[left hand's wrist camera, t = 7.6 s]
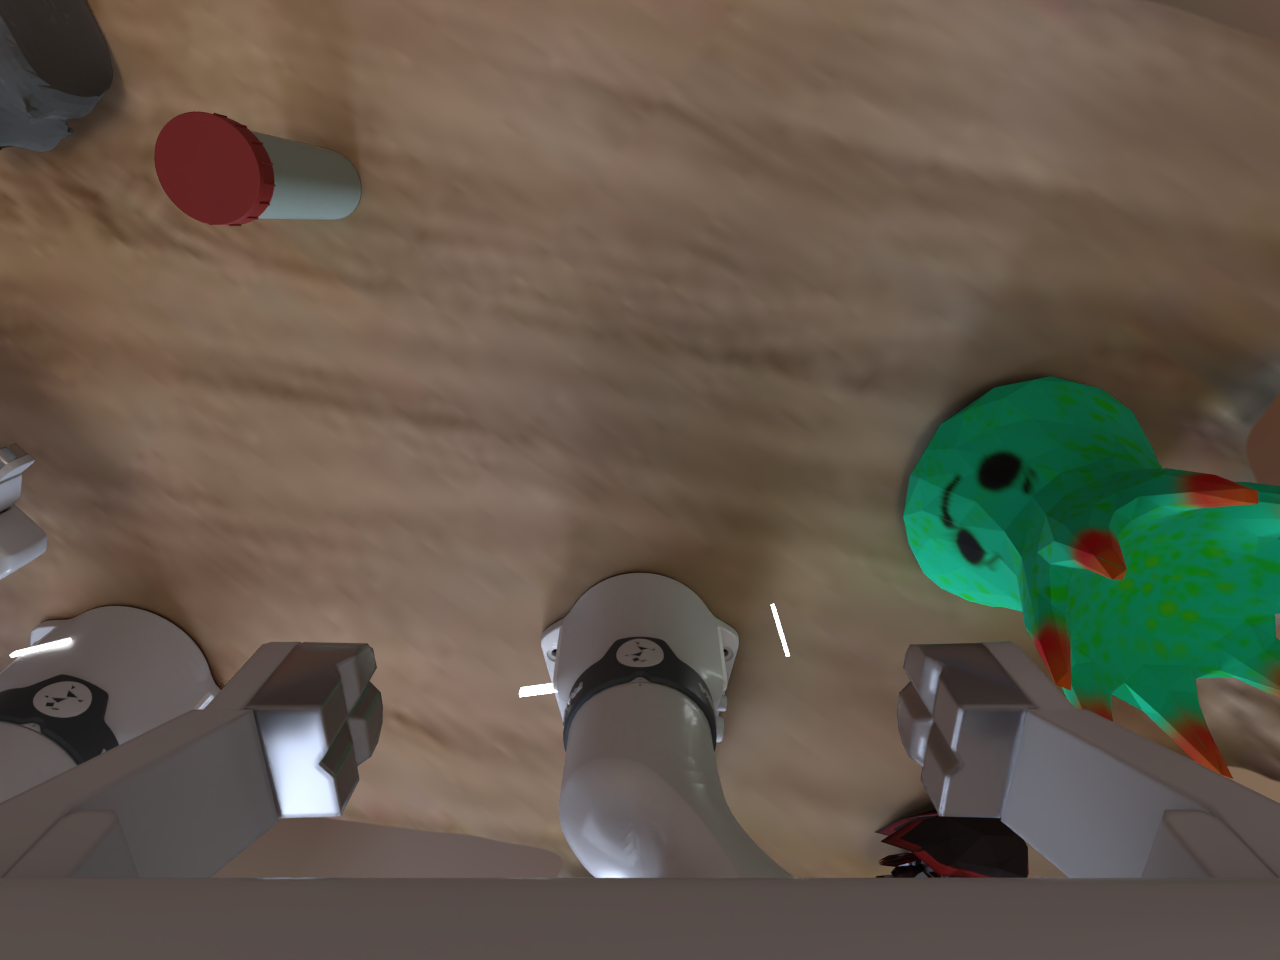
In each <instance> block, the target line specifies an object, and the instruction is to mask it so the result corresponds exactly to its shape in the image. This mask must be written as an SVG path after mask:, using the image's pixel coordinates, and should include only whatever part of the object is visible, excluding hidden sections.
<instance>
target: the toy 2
mask: <svg viewBox="0 0 1280 960" xmlns="http://www.w3.org/2000/svg"><path fill="white" fill-rule="evenodd" d="M903 518H904V523H905V528H906V533H907V538H908V543H909V545H910V547H911V549H912V551H913V553H914V555H915V557H916V559H917V561H918V563H919V565H920V567H921V569H922V571H923V573H924V574H925V575H926V576H927V577H929V578H930V579H931V580H932V581H933V582H935V583H936V584H937V585H938V586H939V587H941V588H942V589H944V590H946V591H948V592H951V593H953V594H955V595H957V596H960V597H962V598H964V599H966V600H968V601H971V602H975V603H979V604H984V605H988V606H992V607H1006V608H1010V609H1014V610H1018V611H1022V612H1023V617H1024V623H1025V627H1026V629H1027V631H1028V633H1029V635H1030V637H1031V638H1032V640H1033V642H1034V644H1035V646H1036V648H1037V650H1038V652H1039V654H1040V655H1041V657H1042V659H1043V661H1044V663H1045V665H1046V667H1047V669H1048V670H1049V672H1050V674H1051V676H1052V678H1053V680H1054V682H1055V684H1056V685H1058V686H1061V687H1062V688H1063V691H1064V693H1065V695H1066V698H1067V699H1068V701H1069V702H1070V703H1071V704H1072V705H1073V706H1074V707H1075V708H1076V709H1088V710H1090V711H1092V712H1094V713H1096V714H1098V715H1100V716H1102V717H1104V718H1106V719H1108V720H1110V721H1112V722H1113V719H1112V714H1111V694H1112V695H1114V696H1116V697H1118V698H1120V699H1122V700H1124V701H1125V702H1127V703H1129V704H1131V705H1133V706H1135V707H1137V708H1139V709H1141V710H1142V711H1144V712H1145V713H1146V714H1147V715H1148V716H1149V717H1150V718H1151V719H1152V720H1153V721H1154V722H1155V723H1156V724H1157V725H1158V726H1159V727H1160V728H1161V729H1162V730H1163V731H1165V732H1166V733H1167V734H1168V735H1169V736H1170V737H1171V738H1172V739H1173V740H1174V741H1175V742H1176V743H1177V744H1178V745H1179V746H1180V747H1181V748H1182V749H1183V750H1184V751H1185V752H1186V753H1187V754H1188V755H1189V756H1190V757H1192V758H1193V759H1194V760H1195V761H1196V762H1197V763H1198V764H1200V765H1202V766H1204V767H1206V768H1208V769H1210V770H1212V771H1214V772H1216V773H1218V774H1220V775H1222V776H1225V777H1228V778H1232V776H1231V774H1230V772H1229V770H1228V768H1227V766H1226V764H1225V762H1224V760H1223V758H1222V756H1221V754H1220V752H1219V750H1218V748H1217V746H1216V744H1215V742H1214V740H1213V738H1212V736H1211V734H1210V732H1209V730H1208V727H1207V724H1206V722H1205V719H1204V716H1203V714H1202V711H1201V708H1200V706H1199V700H1198V693H1197V686H1196V680H1195V679H1196V678H1220V677H1235V678H1237V679H1239V680H1241V681H1243V682H1246V683H1248V684H1250V685H1252V686H1254V687H1256V688H1259V689H1261V690H1263V691H1265V692H1267V693H1269V694H1272V695H1274V696H1276V697H1278V698H1280V641H1279V640H1278V639H1277V638H1276V629H1275V614H1277V613H1280V486H1273V485H1265V484H1257V483H1249V482H1232V481H1230V480H1227V479H1224V478H1222V477H1219V476H1216V475H1212V474H1204V473H1197V472H1189V471H1182V470H1174V469H1163V468H1162V467H1161V465H1160V464H1159V463H1158V461H1157V459H1156V457H1155V454H1154V450H1153V448H1152V446H1151V444H1150V442H1149V441H1148V439H1147V437H1146V435H1145V433H1144V432H1143V430H1142V428H1141V426H1140V424H1139V422H1138V421H1137V419H1136V417H1135V415H1134V413H1133V412H1132V411H1131V410H1130V409H1128V408H1127V407H1126V406H1124V405H1123V404H1122V403H1120V402H1119V401H1118V400H1116V399H1115V398H1114V397H1112V396H1111V395H1110V394H1108V393H1107V392H1106V391H1104V390H1103V389H1100V388H1096V387H1092V386H1089V385H1085V384H1081V383H1077V382H1073V381H1069V380H1065V379H1061V378H1057V377H1053V376H1048V377H1043V378H1038V379H1033V380H1028V381H1024V382H1019V383H1014V384H1009V385H1004V386H999V387H994V388H993V389H991V390H990V391H989V392H987V393H986V394H984V395H983V396H981V397H980V398H978V399H977V400H975V401H974V402H972V403H971V404H969V405H968V406H967V407H965V408H964V409H962V410H961V411H959V412H958V413H956V414H955V415H953V416H952V417H950V418H949V419H948V420H946V421H945V422H943V423H942V424H941V425H940V426H939V428H938V430H937V431H936V433H935V435H934V436H933V438H932V440H931V441H930V443H929V445H928V446H927V448H926V450H925V451H924V453H923V455H922V457H921V458H920V460H919V462H918V463H917V465H916V467H915V468H914V470H913V472H912V473H911V475H910V479H909V485H908V491H907V497H906V503H905V509H904V515H903Z"/></svg>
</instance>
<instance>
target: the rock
mask: <svg viewBox="0 0 1280 960" xmlns="http://www.w3.org/2000/svg"><path fill="white" fill-rule="evenodd" d="M112 76H113V71H112V64H111V58H110V54H109V51H108V48H107V45H106V42H105V40H104V38H103V35H102V33H101V31H100V29H99V27H98V25H97V23H96V21H95V19H94V17H93V15H92V13H91V11H90V9H89V7H88V6H87V4H86V2H85V0H0V150H1V149H2V148H5V147H10V146H13V147H20V148H25V149H30V150H34V151H38V152H46V151H49V150H52V149H54V148H55V147H56V146H57V145H58V144H59V142H60V141H61V140H62V139H64V138H65V137H67V136H70V135H71V134H73V129H71V128H70V127H69V126H68V125H67V123H66V120H67V119H72V118H82V117H84V116H85V115H87V114H89V113H90V112H91V111H92V110H93V108H94V107H95V105H96V103H97V102H98V101H99V100H100V99H101V98H102V97H103V95H104V94H105V92H106V91H107V90H108V89H109V87H110V85H111V83H112Z"/></svg>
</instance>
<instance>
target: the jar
mask: <svg viewBox="0 0 1280 960" xmlns="http://www.w3.org/2000/svg"><path fill="white" fill-rule="evenodd" d="M251 132H252V133H253V134H254V135H255V136H256V137H257V138H258V139H259V141H260V142H262V143H263V146H264V148H265V150H266V151H267V153H268V155H269V158H270V160H271V163H273V165H272V166H273V171H274V181H275V183H274V185H276V186H275V187H274V192H273V196H272V199H271V201H270V206H268V207H267V208H266V210H265V211H264V212H263V213H262V214H261V215H260V216H259V217H258V218H262V219H341V218H344V217H346V216H348V215H349V214H351V213H352V212H353V211H354V210H355V208H356V207H357V205H358V203H359V200H360V196H361V183H360V179H359V176H358V173H357V171H356V169H355V168H354V166H353V165H352V163H351V162H350V161H349V160H348V159H347V158H346V157H344V156H343V155H341V154H340V153H338V152H336V151H333V150H329V149H325V148H321V147H317V146H312V145H308V144H304V143H300V142H296V141H291V140H287V139H283V138H279V137H275V136H271V135H266V134H262V133H258V132H254V131H251Z"/></svg>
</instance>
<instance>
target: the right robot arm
mask: <svg viewBox="0 0 1280 960" xmlns="http://www.w3.org/2000/svg"><path fill="white" fill-rule="evenodd" d="M34 462H35V460H34V459H33V458H32V457H31V456H30V455H29V454H28V453H27V452H26V451H24V450H23V449H22V448H21V447H20V446H19V445H18V444H17V443H15V444H12V445H10V446H9V447H4V448H1V449H0V580H1V579H2V578H4V577H6V576H8V575H10V574H11V573H13V572H15V571H16V570H18V569H20V568H21V567H23V566H25V565H26V564H28V563H29V562H31V561H33V560H34V559H36V558H37V557H39V556H40V555H42V554H43V553H44V552H45V551H46V549H47V535H46V533H45V532H44V531H43V530H42V529H41V528H40V527H39V526H38V525H37V524H36V523H35V522H33V521H32V520H31V519H30V518H29V517H28V516H27V515H26V514H25V513H23V512H22V511H21V510H20V509H19V508H18V507H17V506H16V505H15V504H14V503H15V502H16V501H17V500H19V499H20V493H21V483H22V474H21V473H22V472H23V471H24V470H25V469H27V468H28V467H29V466H30V465H31V464H33V463H34ZM17 656H19V657H18V658H16V659H15V660H14V661H13V662H11V663H10V664H9V665H8V666H7V667H5V668H4V669H3V670H2V671H0V803H2V802H4V801H6V800H8V799H10V798H12V797H14V796H16V795H18V794H20V793H22V792H24V791H26V790H28V789H30V788H33V787H35V786H37V785H39V784H41V783H43V782H45V781H47V780H49V779H51V778H53V777H55V776H57V775H59V774H61V773H63V772H65V771H67V770H69V769H71V768H74V767H76V766H78V765H80V764H82V763H84V762H86V761H88V760H90V759H92V758H94V757H96V756H98V755H100V754H102V753H104V752H106V751H108V750H110V749H112V748H115V747H117V746H119V745H121V744H123V743H125V742H127V741H129V740H131V739H133V738H135V737H137V736H139V735H141V734H143V733H145V732H147V731H149V730H151V729H153V728H156V727H158V726H160V725H162V724H164V723H166V722H168V721H170V720H172V719H174V718H176V717H178V716H180V715H182V714H184V713H186V712H188V711H190V710H192V709H204V708H205V707H206V706H207V705H208V704H209V703H210V702H211V701H212V699H213V698H214V697H215V696H216V695H217V694H218V693H219V692H220V691H221V690H220V688H219V687H218V686H217V685H216V684H215V682H214V680H213V678H212V675H211V672H210V669H209V666H208V664H207V661H206V659H205V657H204V655H203V654H202V652H201V651H200V649H199V648H198V646H197V645H196V644H195V643H194V641H193V640H192V639H191V638H190V637H189V636H188V635H187V634H186V633H184V632H183V631H182V630H181V629H180V628H178V627H177V626H175V625H174V624H173V623H171V622H169V621H168V620H166V619H164V618H162V617H160V616H158V615H156V614H153V613H151V612H148V611H145V610H141V609H137V608H133V607H126V606H105V607H99V608H95V609H92V610H89V611H87V612H84V613H82V614H80V615H78V616H76V617H74V618H71V619H68V620H49V621H44V622H42V623H40V624H39V625H38V626H37V627H35V628H34V629H33V630H32V632H31V638H30V648H26V649H22V650H17V651H15V652H13V653H12V654H10V657H11V658H13V657H17Z"/></svg>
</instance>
